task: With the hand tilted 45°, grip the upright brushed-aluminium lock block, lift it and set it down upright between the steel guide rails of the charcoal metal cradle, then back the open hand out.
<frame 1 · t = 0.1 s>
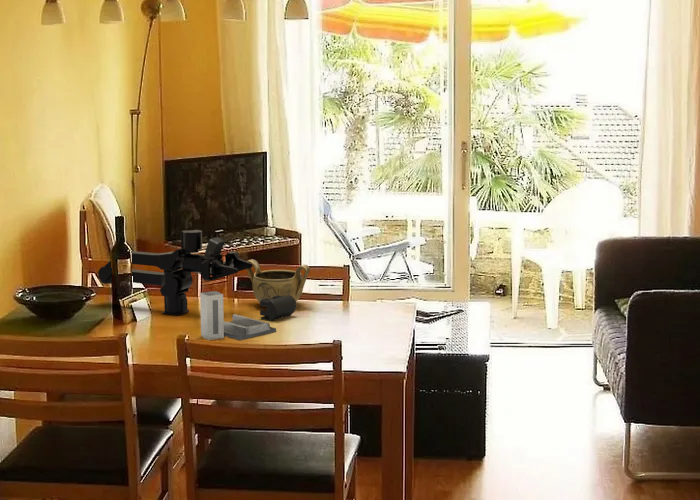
hand: (245, 268, 313), 17 cm above the table, tool horizontal, fingers open, 9 cm apart
slotted cradle: (240, 330, 304), on the table
aluminium lock block: (212, 337, 296), on the table
end cap: (278, 319, 320), on the table
ceramic bowl: (277, 307, 335), on the table
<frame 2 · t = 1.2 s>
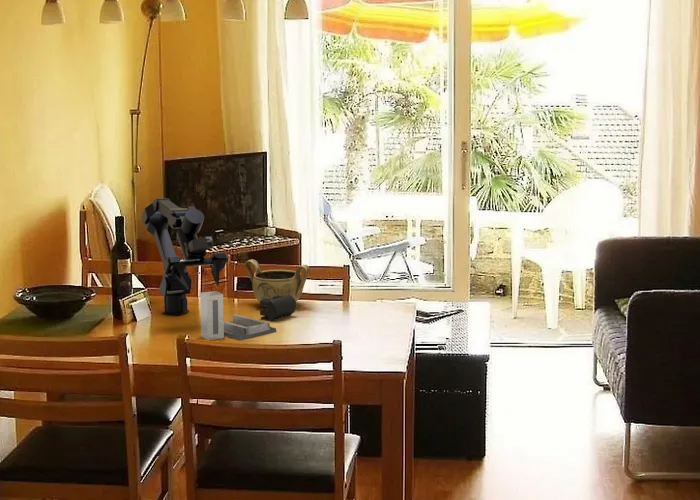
hand: (203, 286, 301), 14 cm above the table, tool tilted 45°, fingers open, 9 cm apart
nothing on the table moved.
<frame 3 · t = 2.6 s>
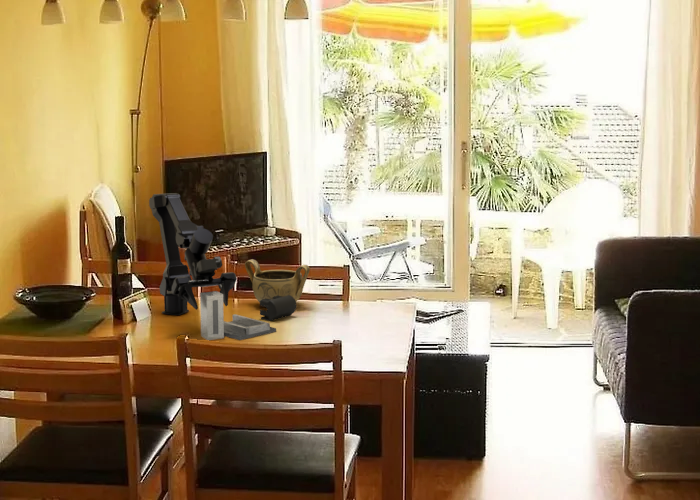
hand: (212, 307, 296), 9 cm above the table, tool tilted 45°, fingers open, 9 cm apart
nothing on the table moved.
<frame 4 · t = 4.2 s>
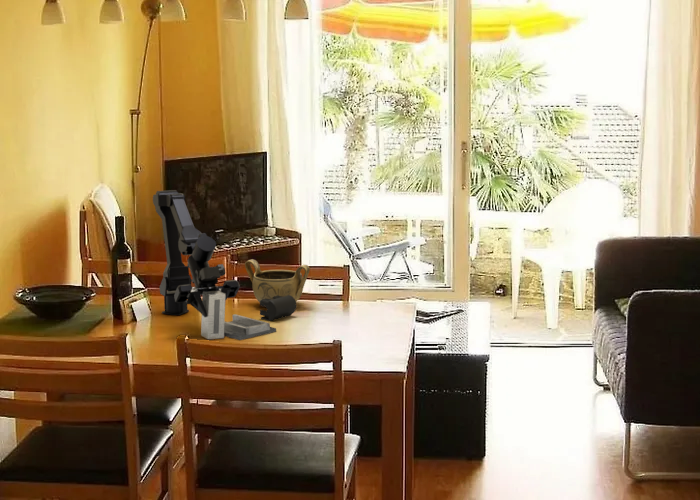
hand: (214, 315, 294), 7 cm above the table, tool tilted 45°, fingers closed on aluminium lock block, 5 cm apart
aluminium lock block: (212, 336, 296), on the table, touching gripper
everything else where it was.
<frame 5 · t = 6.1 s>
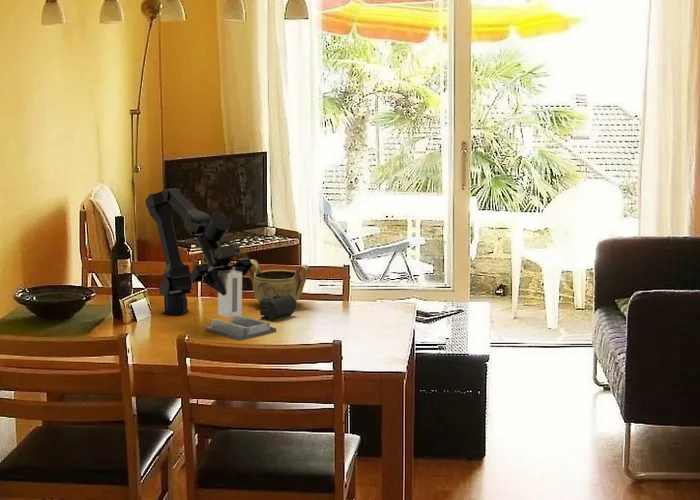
hand: (232, 293, 298), 12 cm above the table, tool tilted 45°, fingers closed on aluminium lock block, 5 cm apart
aluminium lock block: (229, 314, 300), point 6 cm above the table, touching gripper
everything else where it was.
when the fingers open (9 cm above the table, at t = 8.1 s): aluminium lock block drops 1 cm, resting on slotted cradle.
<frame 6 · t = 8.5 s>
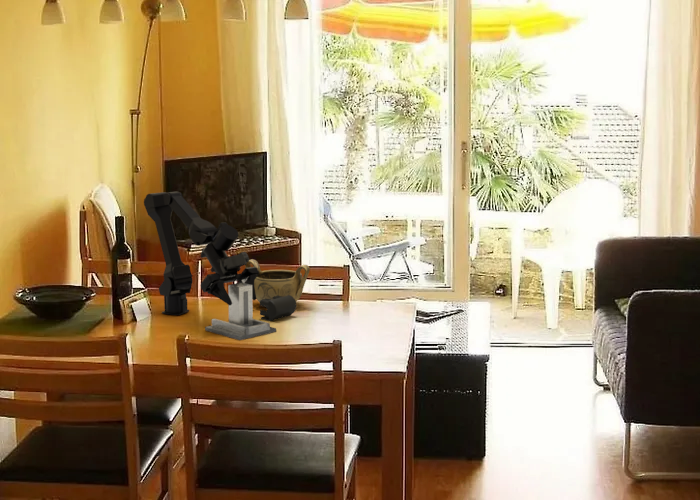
hand: (243, 302, 301), 9 cm above the table, tool tilted 45°, fingers open, 9 cm apart
aluminium lock block: (240, 327, 303), point 1 cm above the table, touching slotted cradle
everything else where it was.
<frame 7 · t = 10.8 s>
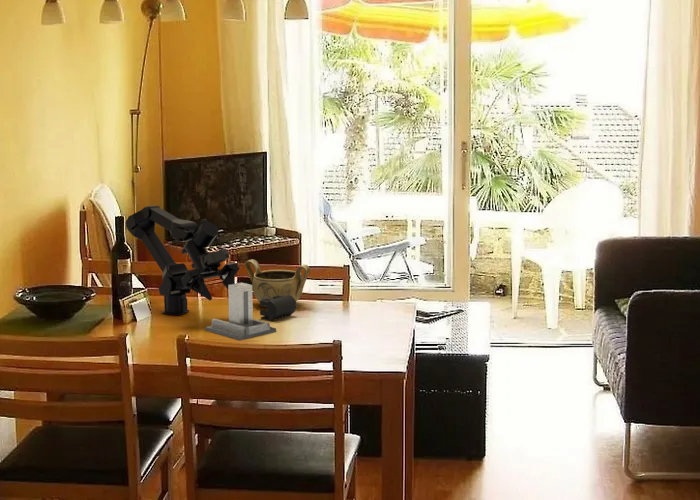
hand: (223, 297, 308), 9 cm above the table, tool tilted 45°, fingers open, 9 cm apart
nothing on the table moved.
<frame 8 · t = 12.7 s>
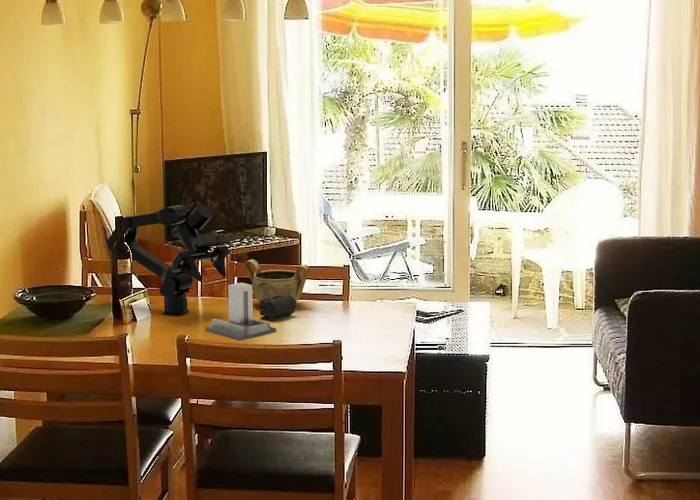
hand: (213, 278, 312), 14 cm above the table, tool tilted 45°, fingers open, 9 cm apart
nothing on the table moved.
at the end: aluminium lock block 0.1 cm off-centre on the slotted cradle, point 1.0 cm above the slotted cradle's base; aluminium lock block tilted 0°; the gripper is holding nothing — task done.
